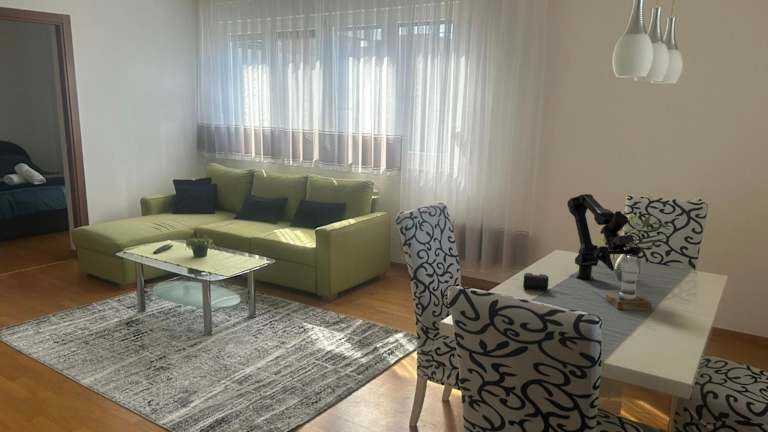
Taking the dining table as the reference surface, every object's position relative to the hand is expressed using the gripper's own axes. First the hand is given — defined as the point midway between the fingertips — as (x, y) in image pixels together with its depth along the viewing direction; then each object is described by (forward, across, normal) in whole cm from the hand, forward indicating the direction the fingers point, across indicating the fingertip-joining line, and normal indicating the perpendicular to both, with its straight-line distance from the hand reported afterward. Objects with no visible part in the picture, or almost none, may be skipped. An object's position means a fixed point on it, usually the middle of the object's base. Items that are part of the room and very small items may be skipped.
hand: (623, 270), depth 234 cm
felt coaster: (+5, 0, +13) cm, 14 cm away
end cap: (-1, -31, +19) cm, 36 cm away
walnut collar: (+13, 0, +5) cm, 14 cm away
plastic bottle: (+12, 0, +6) cm, 14 cm away
